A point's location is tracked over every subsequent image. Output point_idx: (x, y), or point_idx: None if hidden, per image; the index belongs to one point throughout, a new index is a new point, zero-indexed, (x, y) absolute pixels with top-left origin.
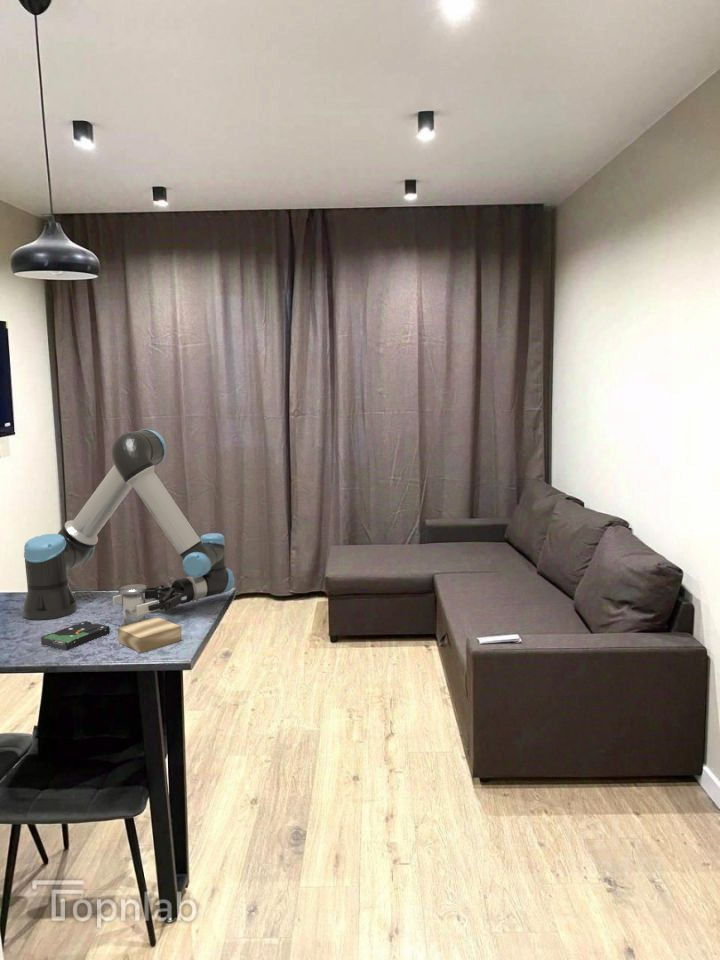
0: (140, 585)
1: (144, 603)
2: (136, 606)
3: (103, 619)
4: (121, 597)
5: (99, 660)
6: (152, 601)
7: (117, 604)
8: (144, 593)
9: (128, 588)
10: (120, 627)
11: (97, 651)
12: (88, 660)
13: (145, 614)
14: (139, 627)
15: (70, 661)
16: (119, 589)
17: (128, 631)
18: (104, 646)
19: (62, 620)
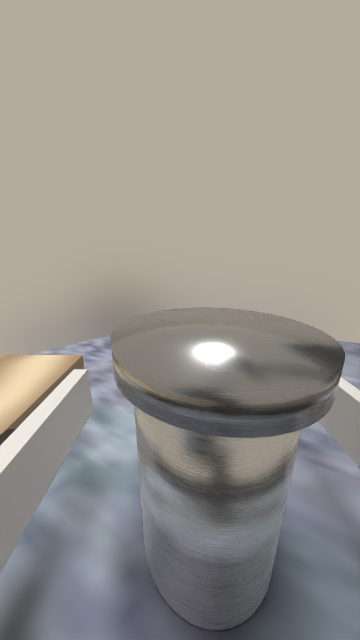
0: (257, 363)
1: (149, 477)
2: (85, 372)
3: (338, 445)
4: (351, 410)
5: (59, 350)
6: (12, 457)
7: (320, 419)
8: (170, 428)
9: (222, 320)
10: (76, 358)
11: (94, 359)
12: (79, 345)
13: (155, 548)
14: (3, 378)
15: (105, 338)
16: (236, 309)
17: (28, 357)
18: (101, 370)
19: (355, 380)
